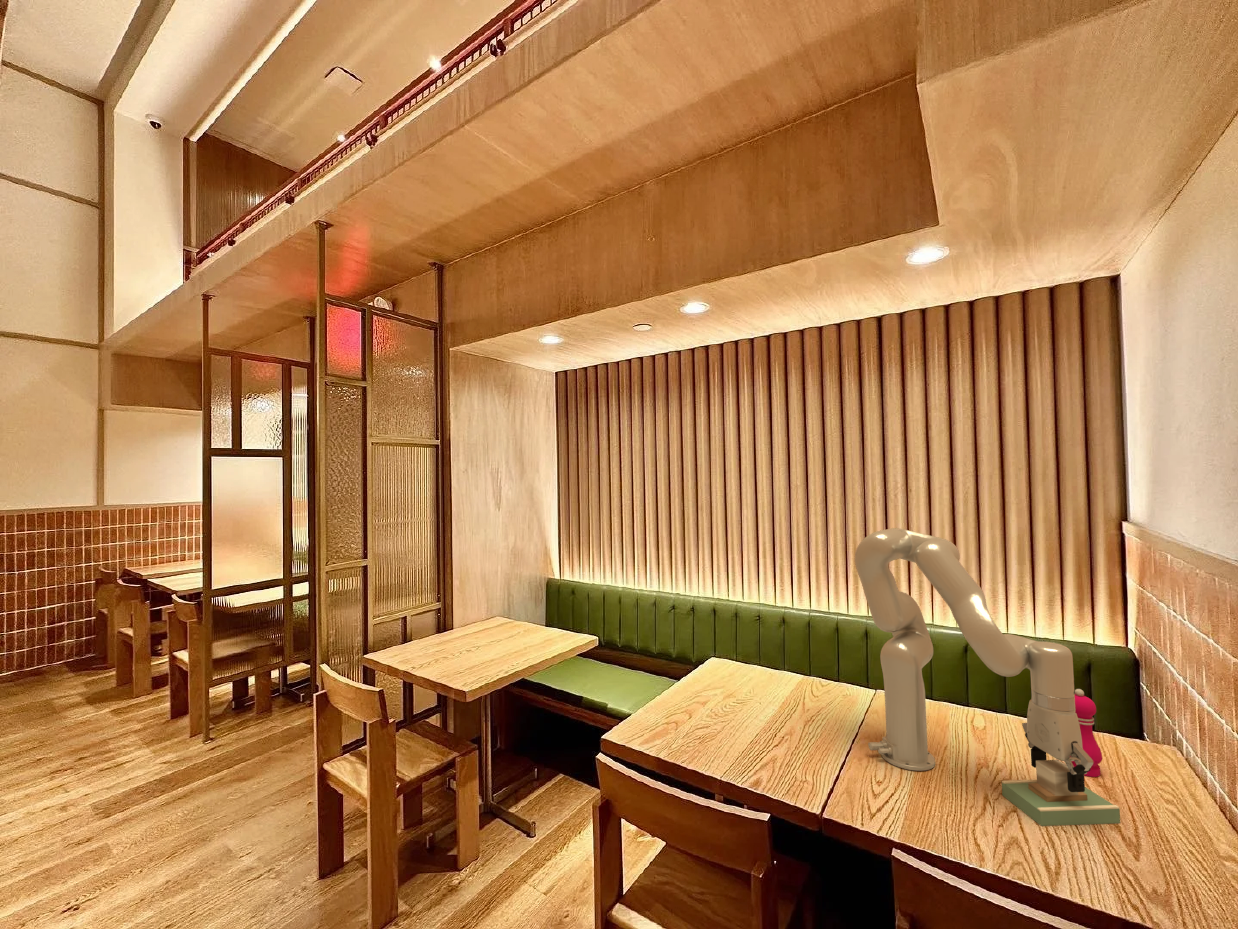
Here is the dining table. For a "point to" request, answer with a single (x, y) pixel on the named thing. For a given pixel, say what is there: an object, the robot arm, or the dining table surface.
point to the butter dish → (1054, 782)
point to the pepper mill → (1087, 731)
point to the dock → (1060, 806)
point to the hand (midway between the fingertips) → (1057, 778)
